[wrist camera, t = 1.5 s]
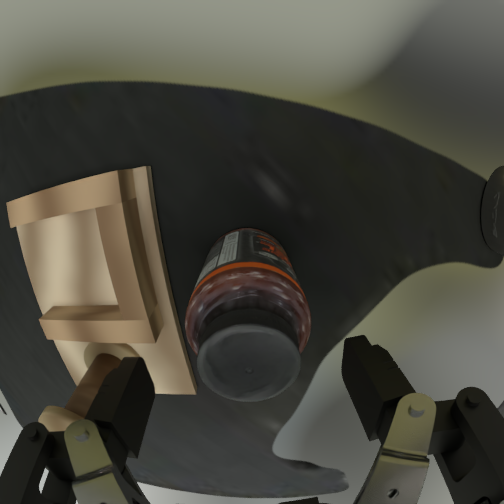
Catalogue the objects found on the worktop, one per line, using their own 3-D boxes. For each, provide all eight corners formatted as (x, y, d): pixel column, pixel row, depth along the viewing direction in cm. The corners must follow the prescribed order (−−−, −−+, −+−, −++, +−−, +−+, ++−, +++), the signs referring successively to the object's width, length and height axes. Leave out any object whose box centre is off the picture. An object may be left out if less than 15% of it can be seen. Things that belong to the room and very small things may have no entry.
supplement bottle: (304, 263, 21) (357, 362, 10) (248, 315, 22) (252, 433, 11) (245, 207, 19) (247, 266, 8) (189, 266, 20) (142, 368, 10)
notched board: (150, 165, 18) (131, 167, 15) (197, 387, 24) (192, 413, 21) (18, 200, 18) (-7, 207, 15) (80, 379, 24) (67, 400, 21)
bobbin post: (133, 335, 21) (87, 425, 12) (153, 386, 23) (126, 472, 13) (79, 334, 21) (25, 407, 12) (101, 382, 23) (64, 455, 14)
